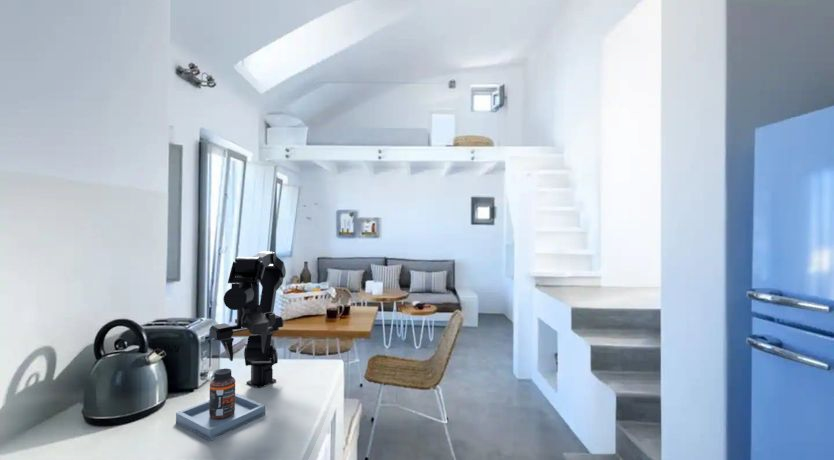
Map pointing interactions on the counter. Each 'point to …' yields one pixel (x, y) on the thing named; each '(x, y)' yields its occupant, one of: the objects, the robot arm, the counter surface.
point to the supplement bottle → (222, 394)
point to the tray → (213, 428)
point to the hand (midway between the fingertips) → (248, 356)
